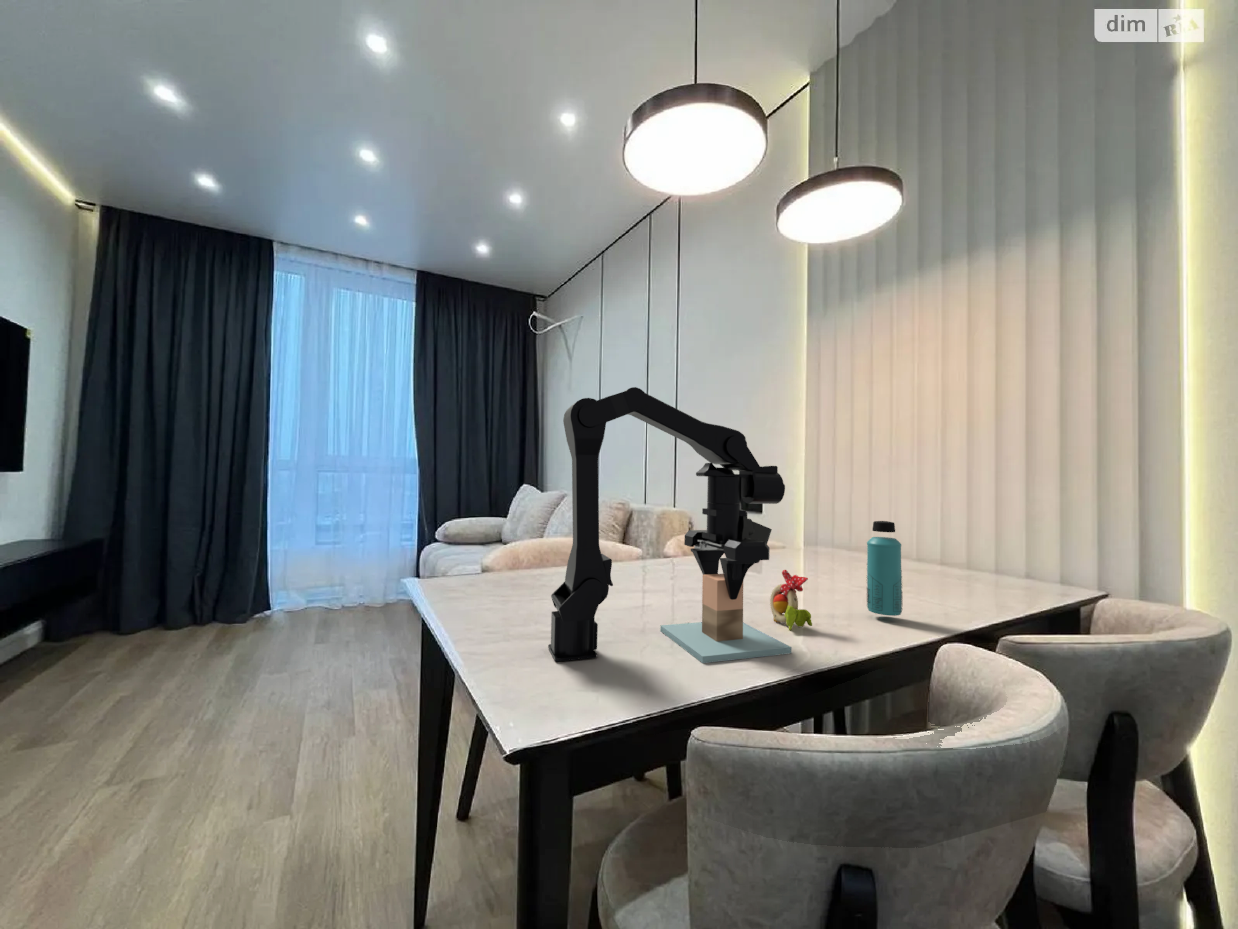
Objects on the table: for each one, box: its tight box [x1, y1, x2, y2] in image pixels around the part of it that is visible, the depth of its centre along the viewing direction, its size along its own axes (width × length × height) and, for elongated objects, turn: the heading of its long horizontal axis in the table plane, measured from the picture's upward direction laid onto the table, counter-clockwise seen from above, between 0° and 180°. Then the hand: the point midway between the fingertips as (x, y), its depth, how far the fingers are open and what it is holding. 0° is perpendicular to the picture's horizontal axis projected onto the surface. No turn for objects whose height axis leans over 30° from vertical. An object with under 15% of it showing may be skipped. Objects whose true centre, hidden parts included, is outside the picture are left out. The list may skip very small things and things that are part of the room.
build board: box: [659, 621, 792, 664], centre depth 83 cm, size 16×16×1 cm
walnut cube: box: [701, 603, 744, 642], centre depth 83 cm, size 5×5×5 cm
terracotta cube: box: [701, 573, 744, 611], centre depth 83 cm, size 5×5×5 cm
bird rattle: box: [769, 569, 813, 631], centre depth 94 cm, size 6×11×9 cm
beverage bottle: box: [866, 520, 904, 617], centre depth 100 cm, size 6×7×20 cm
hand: (722, 594), depth 83 cm, fingers open, 7 cm apart
